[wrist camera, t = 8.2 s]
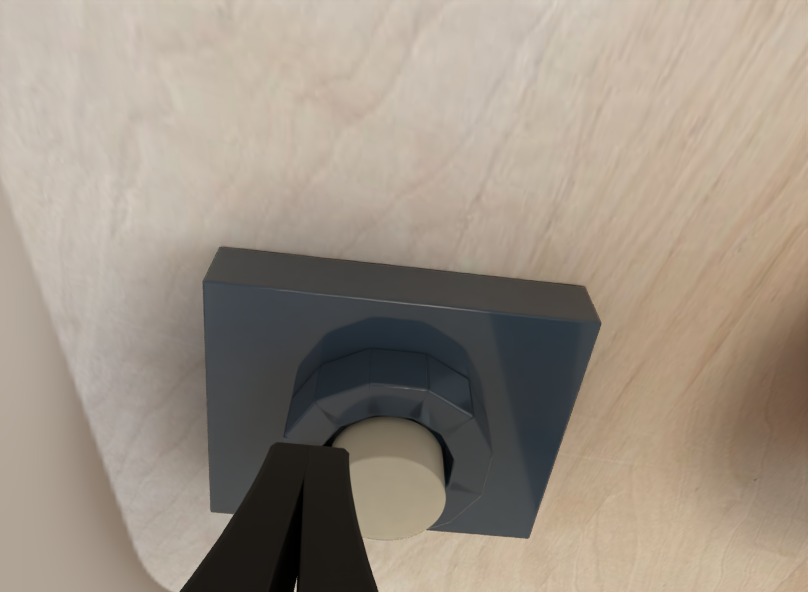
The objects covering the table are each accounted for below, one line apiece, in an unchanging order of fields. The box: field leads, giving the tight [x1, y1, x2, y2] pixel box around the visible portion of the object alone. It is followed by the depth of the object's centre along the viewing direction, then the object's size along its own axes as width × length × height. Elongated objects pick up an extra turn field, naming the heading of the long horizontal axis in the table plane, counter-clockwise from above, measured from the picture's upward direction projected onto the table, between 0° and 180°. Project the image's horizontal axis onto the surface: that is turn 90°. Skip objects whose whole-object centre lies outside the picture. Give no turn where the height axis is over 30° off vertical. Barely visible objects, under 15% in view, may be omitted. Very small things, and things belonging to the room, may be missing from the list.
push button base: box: [202, 247, 601, 539], centre depth 23 cm, size 12×10×4 cm
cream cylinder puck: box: [332, 416, 446, 540], centre depth 21 cm, size 4×4×2 cm
